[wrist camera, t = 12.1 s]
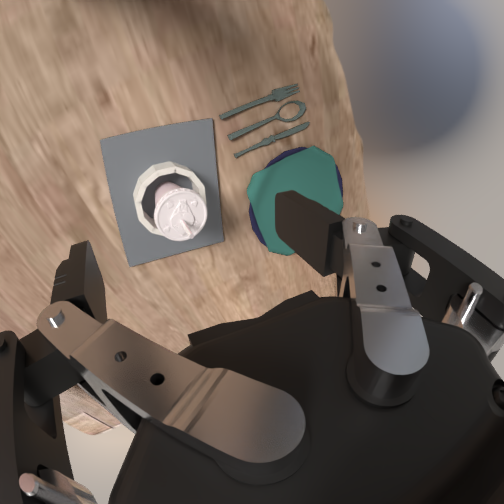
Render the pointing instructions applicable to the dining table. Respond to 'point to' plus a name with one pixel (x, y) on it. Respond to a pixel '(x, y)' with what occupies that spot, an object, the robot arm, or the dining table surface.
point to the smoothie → (178, 212)
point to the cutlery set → (288, 175)
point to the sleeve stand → (153, 174)
